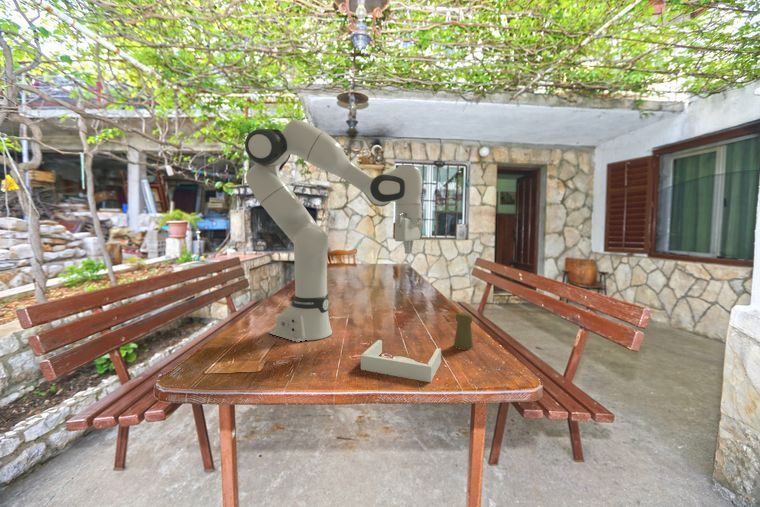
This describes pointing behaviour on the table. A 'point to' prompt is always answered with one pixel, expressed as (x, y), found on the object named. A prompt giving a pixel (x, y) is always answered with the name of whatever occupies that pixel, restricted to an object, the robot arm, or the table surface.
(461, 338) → the green tapered cylinder
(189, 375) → the table surface
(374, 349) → the box
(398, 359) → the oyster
